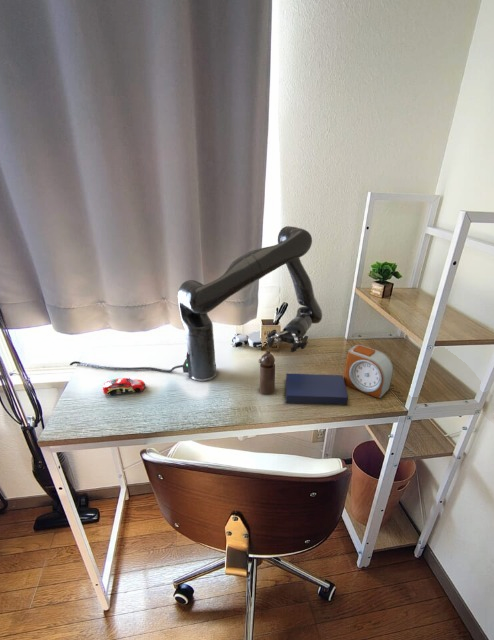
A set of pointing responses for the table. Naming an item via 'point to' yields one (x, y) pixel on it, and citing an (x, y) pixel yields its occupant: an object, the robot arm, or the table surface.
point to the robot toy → (247, 340)
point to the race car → (123, 386)
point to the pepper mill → (267, 373)
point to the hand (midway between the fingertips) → (280, 347)
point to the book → (316, 389)
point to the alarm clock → (368, 370)
